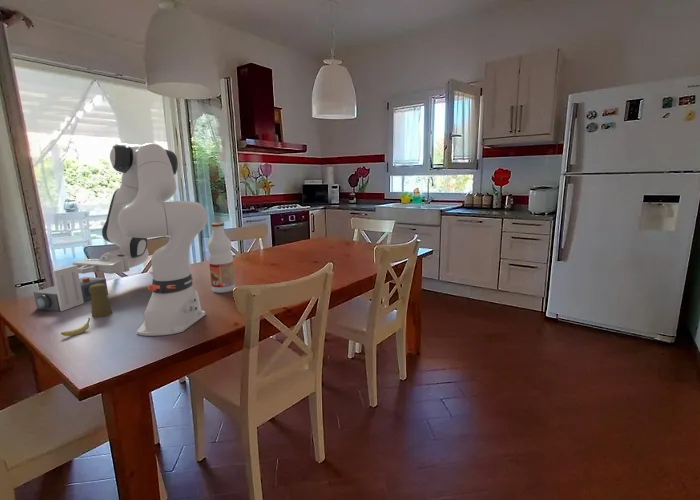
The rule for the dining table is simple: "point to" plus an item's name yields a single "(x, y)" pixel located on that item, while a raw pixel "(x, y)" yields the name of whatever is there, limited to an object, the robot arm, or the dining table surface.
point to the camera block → (50, 300)
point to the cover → (68, 287)
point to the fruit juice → (221, 260)
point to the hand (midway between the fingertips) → (79, 271)
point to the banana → (77, 330)
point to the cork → (99, 301)
